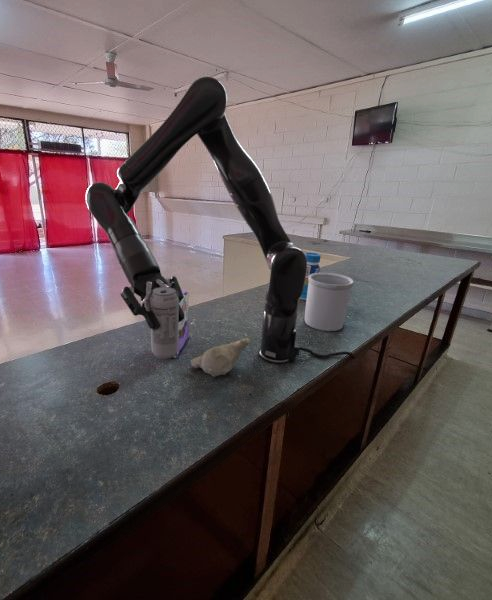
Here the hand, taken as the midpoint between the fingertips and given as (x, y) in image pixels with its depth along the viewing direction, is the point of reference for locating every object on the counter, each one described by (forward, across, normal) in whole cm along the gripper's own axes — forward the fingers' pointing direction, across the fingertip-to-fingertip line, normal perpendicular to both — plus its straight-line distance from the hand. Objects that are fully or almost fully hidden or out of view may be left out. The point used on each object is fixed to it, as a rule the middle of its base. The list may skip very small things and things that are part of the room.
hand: (169, 324), depth 68 cm
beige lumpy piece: (+13, +19, +14) cm, 27 cm away
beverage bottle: (+3, +89, +24) cm, 92 cm away
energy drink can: (+4, 0, +7) cm, 8 cm away
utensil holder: (+16, +68, +11) cm, 71 cm away
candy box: (0, +16, +27) cm, 32 cm away
